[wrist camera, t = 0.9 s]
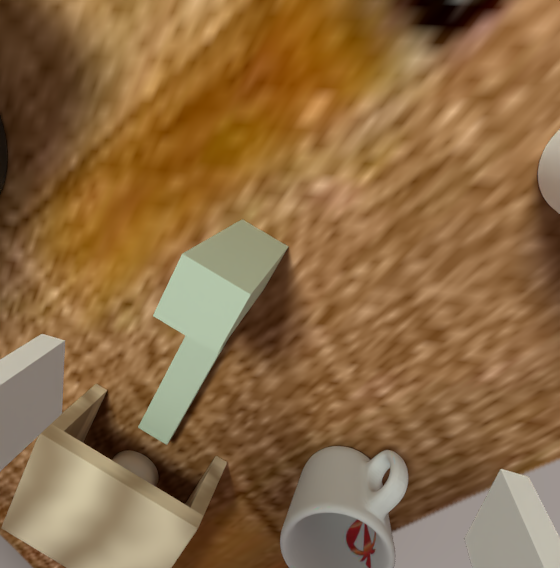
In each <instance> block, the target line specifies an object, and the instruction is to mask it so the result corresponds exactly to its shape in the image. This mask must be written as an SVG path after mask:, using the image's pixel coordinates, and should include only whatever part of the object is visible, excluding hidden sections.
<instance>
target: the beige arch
mask: <svg viewBox="0 0 560 568" xmlns="http://www.w3.org/2000/svg"><path fill="white" fill-rule="evenodd" d="M106 392H107V390H106V389H104V388H103V387H101V386H99V385H98V384H95V385H94V386H93V387H92V388H91V389H89V390H88V391H87V392H86V393H85V394H84V395H83V396H81V397H80V398H79V399H78V400H77V401H76V402H75V403H73V404H72V405H71V406H70V407H69V408H68V409H67V410H65V411H64V412H63V413H62V414H61V415H60V416H59V417H58V418H57V419H56V420H55V421H54V422H53V423H51V424H50V425H49V426H48V427H47V428H46V429H45V430H44V431H43V432H42V433H41V434H40V435H39V436H38V438H37V441H36V443H35V446H34V448H33V451H32V453H31V456H30V458H29V461H28V463H27V466H26V468H25V471H24V473H23V475H22V478H21V480H20V483H19V485H18V488H17V490H16V493H15V495H14V498H13V500H12V503H11V505H10V508H9V510H8V513H7V515H6V518H5V520H4V523H3V525H2V529H4V530H5V531H7V532H9V533H10V534H12V535H14V536H15V537H17V538H19V539H20V540H22V541H23V542H25V543H27V544H28V545H30V546H32V547H33V548H35V549H37V550H38V551H40V552H42V553H43V554H45V555H46V556H48V557H50V558H51V559H53V560H55V561H56V562H58V563H60V564H61V565H63V566H65V567H66V568H172V566H173V565H174V563H175V562H176V560H177V559H178V557H179V556H180V554H181V553H182V551H183V550H184V548H185V547H186V545H187V544H188V542H189V541H190V540H191V538H192V537H193V535H194V534H195V532H196V531H197V529H198V527H199V525H200V523H201V520H202V518H203V516H204V514H205V511H206V509H207V507H208V505H209V502H210V500H211V498H212V496H213V493H214V491H215V489H216V487H217V484H218V482H219V480H220V477H221V475H222V473H223V471H224V468H225V466H226V464H227V462H226V461H224V460H222V459H221V458H219V457H217V456H215V458H214V459H213V461H212V463H211V464H210V466H209V467H208V469H207V470H206V472H205V474H204V475H203V477H202V478H201V480H200V481H199V483H198V484H197V486H196V488H195V489H194V491H193V492H192V494H191V495H190V497H189V499H188V500H187V502H186V503H185V504H183V503H182V502H180V501H178V500H177V499H175V498H173V497H172V496H170V495H168V494H167V493H165V492H164V491H162V490H160V489H159V488H157V487H155V486H154V485H152V484H150V483H149V482H147V481H145V480H144V479H142V478H140V477H139V476H137V475H135V474H134V473H132V472H130V471H129V470H127V469H125V468H124V467H122V466H120V465H119V464H117V463H115V462H114V461H112V460H111V459H109V458H107V457H106V456H104V455H102V454H101V453H99V452H97V451H96V450H94V449H92V448H91V447H89V446H87V445H86V444H84V443H83V442H84V440H85V438H86V436H87V433H88V431H89V429H90V427H91V425H92V423H93V420H94V418H95V416H96V414H97V412H98V410H99V407H100V405H101V403H102V401H103V399H104V397H105V394H106Z"/></svg>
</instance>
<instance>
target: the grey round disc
mask: <svg viewBox="0 0 560 568" xmlns="http://www.w3.org/2000/svg"><path fill="white" fill-rule="evenodd" d="M112 461H114V462H115V463H117V464H119V465H120V466H122V467H124V468H125V469H127V470H129V471H130V472H132V473H134V474H135V475H137V476H139V477H140V478H142V479H144V480H145V481H147V482H149V483H150V484H152V485H154V486H155V487H156V486H157V484H158V480H159V475H158V471H157V469H156V467H155V465H154V464H153V462H152V461H151V460H150V459H149V458H147V457H146V456H145V455H143V454H141V453H139V452H136V451H129V450H128V451H122V452H119V453H118V454H116V455H115V456H114V458H113V459H112Z"/></svg>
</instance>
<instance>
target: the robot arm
mask: <svg viewBox="0 0 560 568" xmlns="http://www.w3.org/2000/svg"><path fill="white" fill-rule="evenodd" d="M6 170H7V144H6V137H5V132H4V127H3V124H2V120H1V117H0V193H1V190H2V188H3V185H4V181H5V177H6ZM64 353H65V340H61V339H58V338H55V337H51V336H48V335H44V334H41V335H39V336H38V337H36V338H34V339H33V340H31V341H29V342H28V343H26V344H25V345H23V346H21V347H20V348H18V349H16V350H15V351H13V352H12V353H10V354H8V355H7V356H5V357H4V358H2V359H0V471H1V470H2V469H3V468H4V467H5V466H6V465H7V464H8V463H10V462H11V461H12V460H13V459H14V458H15V457H16V456H17V455H18V454H19V453H20V452H21V451H22V450H23V449H25V448H26V447H27V446H28V445H29V444H30V443H31V442H32V441H33V440H34V439H35V438H36V437H37V436H39V435H40V434H41V433H42V432H43V431H44V430H45V429H46V428H47V427H48V426H49V425H50V424H51V423H53V422H54V421H55V420H56V419H57V418H58V417H59V416H60V415H61V414H62V400H63V376H64ZM464 539H465V543H466V547H467V551H468V555H469V558H470V562H471V565H472V568H560V538H559V535H558V534H557V532H556V530H555V528H554V526H553V524H552V522H551V520H550V518H549V516H548V514H547V512H546V510H545V508H544V506H543V504H542V502H541V500H540V498H539V496H538V494H537V492H536V490H535V489H534V486H533V485H532V483H531V481H530V479H529V477H527V476H524V475H520V474H517V473H513V472H510V471H507V470H503V469H500V471H499V473H498V475H497V477H496V479H495V481H494V482H493V484H492V486H491V488H490V490H489V492H488V494H487V496H486V498H485V500H484V502H483V504H482V505H481V508H480V509H479V511H478V513H477V515H476V517H475V519H474V521H473V523H472V525H471V527H470V529H469V530H468V532H467V534H466V536H465V538H464Z"/></svg>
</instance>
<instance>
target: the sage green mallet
mask: <svg viewBox="0 0 560 568" xmlns="http://www.w3.org/2000/svg"><path fill="white" fill-rule="evenodd" d="M287 248H288V246H286V245H285V244H283V243H281V242H280V241H278V240H276V239H275V238H273V237H271V236H270V235H268V234H266V233H264V232H263V231H261V230H259V229H258V228H256V227H254V226H253V225H251V224H249V223H248V222H246V221H244V220H243V219H242V220H240V221H238V222H237V223H235V224H233V225H231V226H230V227H228V228H226V229H224V230H223V231H221V232H219V233H218V234H216V235H214V236H212V237H211V238H209V239H207V240H205V241H204V242H202V243H200V244H198V245H197V246H195V247H193V248H191V249H190V250H188V251H186V252H185V253H183V254H182V255H181V258H180V260H179V262H178V264H177V266H176V268H175V270H174V272H173V274H172V277H171V279H170V281H169V283H168V285H167V287H166V289H165V291H164V293H163V296H162V298H161V300H160V302H159V304H158V306H157V308H156V310H155V312H154V315H153V316H154V317H156V318H157V319H159V320H161V321H162V322H164V323H166V324H167V325H169V326H171V327H172V328H174V329H176V330H177V331H179V332H181V333H182V334H184V335H186V336H185V338H184V340H183V342H182V344H181V346H180V348H179V350H178V352H177V354H176V355H175V357H174V359H173V361H172V363H171V365H170V367H169V369H168V371H167V373H166V375H165V377H164V379H163V380H162V382H161V384H160V386H159V388H158V390H157V392H156V394H155V396H154V398H153V400H152V402H151V403H150V405H149V407H148V409H147V411H146V413H145V415H144V417H143V419H142V421H141V423H140V425H139V427H138V428H140V429H141V430H143V431H145V432H146V433H148V434H150V435H151V436H153V437H155V438H156V439H158V440H160V441H161V442H163V443H165V444H166V445H167V444H168V443H169V441H170V440H171V438H172V437H173V435H174V433H175V432H176V430H177V428H178V426H179V425H180V423H181V421H182V419H183V418H184V416H185V414H186V412H187V410H188V409H189V407H190V405H191V403H192V402H193V400H194V398H195V396H196V395H197V393H198V391H199V389H200V388H201V386H202V384H203V382H204V381H205V379H206V377H207V375H208V374H209V372H210V370H211V368H212V367H213V365H214V363H215V361H216V360H217V358H218V356H219V354H220V352H221V351H222V349H223V347H224V345H225V344H226V342H227V340H228V338H229V337H230V336H231V334H232V333H233V331H234V330H235V329H236V327H237V326H238V324H239V323H240V322H241V320H242V319H243V318H244V316H245V315H246V313H247V312H248V311H249V309H250V308H251V306H252V305H253V304H254V302H255V301H256V300H257V298H258V297H259V295H260V294H261V293H262V291H263V290H264V288H265V286H266V285H267V283H268V281H269V280H270V278H271V276H272V274H273V273H274V271H275V269H276V267H277V266H278V264H279V262H280V260H281V259H282V257H283V255H284V254H285V252H286V250H287Z"/></svg>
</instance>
